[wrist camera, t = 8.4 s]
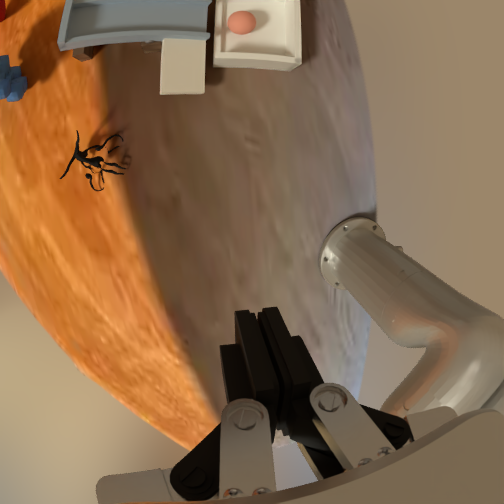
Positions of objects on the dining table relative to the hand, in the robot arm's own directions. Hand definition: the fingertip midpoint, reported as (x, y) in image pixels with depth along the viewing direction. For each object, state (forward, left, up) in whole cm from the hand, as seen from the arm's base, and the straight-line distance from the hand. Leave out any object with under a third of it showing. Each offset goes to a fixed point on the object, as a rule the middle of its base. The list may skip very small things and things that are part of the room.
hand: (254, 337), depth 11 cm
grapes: (+30, -21, -27) cm, 46 cm away
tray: (-5, -23, -27) cm, 36 cm away
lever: (+10, -20, -23) cm, 32 cm away
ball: (-3, -23, -25) cm, 34 cm away
